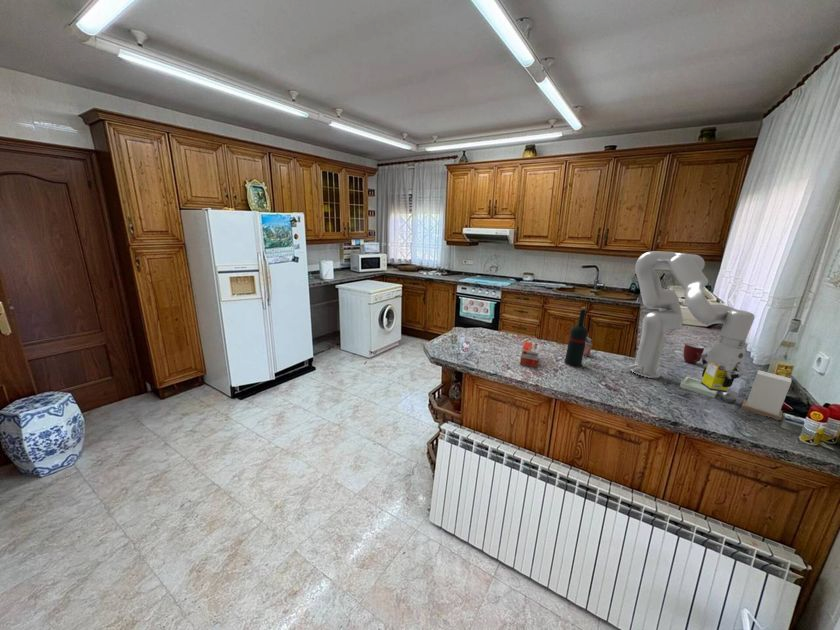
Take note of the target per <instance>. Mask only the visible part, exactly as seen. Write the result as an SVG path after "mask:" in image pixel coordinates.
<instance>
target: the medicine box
mask: <svg viewBox="0 0 840 630" xmlns="http://www.w3.org/2000/svg"><path fill="white" fill-rule="evenodd" d="M540 345H541V344H540V343H536V342H531V341H524V342H523V345H522V349H521V354H520V363H519V365H523V366H530V367H533V368H537V367H538V361H539V354H540V347H541V346H540Z"/></svg>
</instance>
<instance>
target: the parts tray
mask: <svg viewBox="0 0 840 630" xmlns="http://www.w3.org/2000/svg"><path fill="white" fill-rule="evenodd" d="M701 382H702V379H701V380H700V379H697V378H693V377H690V376H685V378H684V379H683V380H682V381H681V382H680V385H679V388H680V387H681V389H683V390H686V391H690V392H694V393H697V394H699V395H703V396H706V397H709V398H713V399H715V397H716V396H717V394H718V393H719V391H713V390H709V389H708V388H707V387H705V386H704V385H703V384H701Z"/></svg>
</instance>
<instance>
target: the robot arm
mask: <svg viewBox="0 0 840 630" xmlns="http://www.w3.org/2000/svg"><path fill="white" fill-rule="evenodd" d="M705 262H706V261H705V260H704V258H703V257H702V256H701V255H698V254H692V253H683V252H674V251H658V250H653V251H652V250H651V251H647V252H644V253H642V254H641V255H640V256H639V257H638V259H637V261H636V262H635V266H634V270H635V275H636V278H637V281H638V285H639V290H640V297H641V300H642V301H641V302H642V304H643V306H644V307H645V308H646V309H654V311H650V312H648V313H647V314H645V316H643V318H642V330H641V331H642V332H641V337H640V341H639V344H638V350H637V353H636V357H635V361H634V362H633V363H632V364H627V365H626V366H625V368H626V369H627V370H629V371H630V370H631V371H632V373H633V372H634V373H636V374H635V375H637V374H638V375H637V376H639V375H641V376H640V377H642V376H644V377H643V378H646V377H648V378H647V379H659V378H661V377H660V376H661V373H659V372H658V369H659V366H660V362H661V358H662V354H663V351H664V347H665V344H666V335H665V332H667V331H668V332H669V331H670V332H671V331H677V330H679V329H680V328H681V327H682V325H683V322H684V318H683V312H682V308H681V305H680V299H679V296H678V294H677V293H676V292H674V291H673V290H671V289H669V288H668V289H667V288H663V286H662V284H661V279H660V276H659V275H658V273H657V272H656V270H662V271H663V270H667V271H671V272H672V274H673V276H674V277H675V278H676V279H677V281H678V283H679V284H680V285H681V286H682V288H683V290H684V303H685V306H686V307H687V309H688V310H689V311H688V312H690V314H691V315H692V316H693V317H694V319H695V320H696V321H698V322H699V323H702V324H705V325H706V324H707V325H708V324H713V325H714V324H722V327H721V330H720V333H719V335H718V338H717V340H715V342H714V343H713V344H712V346H711V347H710V349H709V351H708V353H703V354H702V355H701V359H700V360H701V362H702V365H703V370H702V374H701V377H702V378H703V376H704V373H705V371H706V368H707V365H708V363H711V362H714V363H717V364H719V365H722V366H724V368H723V369H724V370H725V371H726V372H727V376H728V378H725V380H724V383H723V385H722V386H723V387H728V388H730V387H732V386H733V383H734V381H735V380H736V379H738V378H741V377H744V376H746V375H747V372H746V371H745V369H744V368H743V365H744V361H745V357H746V356H745V355H746V348H747V347H748V346H749V344H748V343H746V342H747V338H748V335H749V333H750V330H751V327H752V325H753V323H754V320H755V314H754V313H753V312H750V311H746V310H741V309H736V308H734V307H732V306H729V305H727V304H710V301H708V299H707V298H706V296H705V294H704V290H703V289H704V288H705V286H707V284H708V283H709V279H708V278H707V276H706V275H705V274H704V272H703V270H704V268H705V264H706V263H705ZM657 309H658V310H657ZM655 310H656V311H655ZM631 371H630V372H631ZM634 373H633V374H634Z"/></svg>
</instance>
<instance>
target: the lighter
mask: <svg viewBox="0 0 840 630" xmlns="http://www.w3.org/2000/svg"><path fill="white" fill-rule="evenodd" d="M592 341H593V340H592V339H591V338H590V337H588V336H587V337H586V342H585V347H584V353H583V355H585V356H590V357H591V350H592V347H593V342H592ZM585 356H584V357H585Z"/></svg>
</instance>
